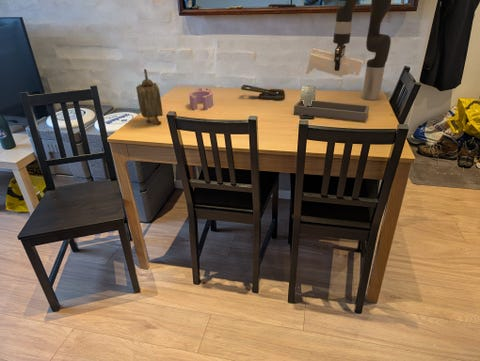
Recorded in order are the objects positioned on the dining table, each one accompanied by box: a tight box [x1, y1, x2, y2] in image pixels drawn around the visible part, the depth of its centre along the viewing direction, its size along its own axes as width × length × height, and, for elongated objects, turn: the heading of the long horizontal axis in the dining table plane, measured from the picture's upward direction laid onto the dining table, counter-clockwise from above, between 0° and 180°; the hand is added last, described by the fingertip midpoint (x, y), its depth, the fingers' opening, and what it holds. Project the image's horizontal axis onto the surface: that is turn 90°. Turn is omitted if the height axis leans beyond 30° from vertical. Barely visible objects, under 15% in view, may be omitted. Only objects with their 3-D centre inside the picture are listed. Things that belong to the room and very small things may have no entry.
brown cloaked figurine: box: [135, 68, 164, 125], centre depth 164 cm, size 14×9×25 cm, turn 21°
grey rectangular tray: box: [293, 98, 370, 124], centre depth 171 cm, size 12×34×4 cm, turn 66°
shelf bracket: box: [305, 47, 364, 77], centre depth 171 cm, size 6×25×13 cm, turn 70°
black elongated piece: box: [240, 84, 286, 102], centre depth 199 cm, size 9×7×25 cm
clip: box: [188, 87, 214, 111], centre depth 191 cm, size 20×12×7 cm, turn 177°
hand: (338, 69), depth 171 cm, fingers closed on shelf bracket, 5 cm apart
